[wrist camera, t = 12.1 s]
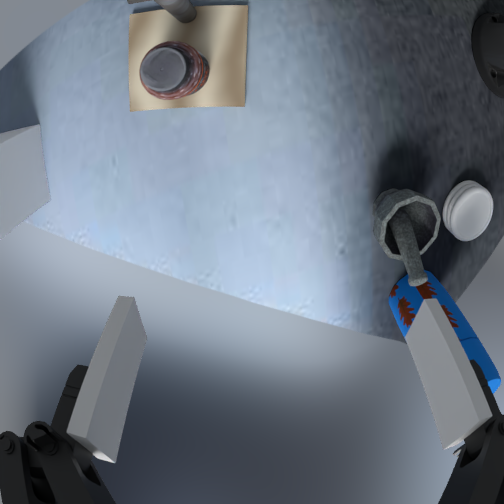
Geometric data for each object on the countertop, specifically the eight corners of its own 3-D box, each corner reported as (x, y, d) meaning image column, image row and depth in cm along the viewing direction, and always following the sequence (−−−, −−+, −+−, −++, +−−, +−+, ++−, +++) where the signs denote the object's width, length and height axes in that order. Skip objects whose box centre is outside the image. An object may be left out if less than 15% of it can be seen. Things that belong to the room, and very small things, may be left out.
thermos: (377, 309, 53) (426, 425, 32) (406, 263, 48) (478, 380, 26) (417, 316, 55) (467, 417, 34) (445, 275, 50) (512, 375, 28)
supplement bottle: (199, 102, 32) (181, 113, 23) (153, 87, 31) (118, 93, 21) (218, 57, 29) (209, 48, 20) (171, 42, 28) (143, 30, 18)
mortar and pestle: (364, 177, 39) (403, 216, 29) (420, 176, 39) (467, 212, 29) (359, 246, 45) (387, 297, 35) (410, 241, 45) (446, 287, 35)
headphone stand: (247, 5, 27) (252, -29, 16) (244, 105, 34) (246, 120, 23) (132, 14, 26) (85, -7, 15) (132, 110, 33) (85, 130, 22)
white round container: (490, 194, 41) (502, 203, 38) (463, 239, 46) (474, 249, 43) (460, 169, 38) (473, 177, 35) (431, 219, 43) (442, 230, 40)
